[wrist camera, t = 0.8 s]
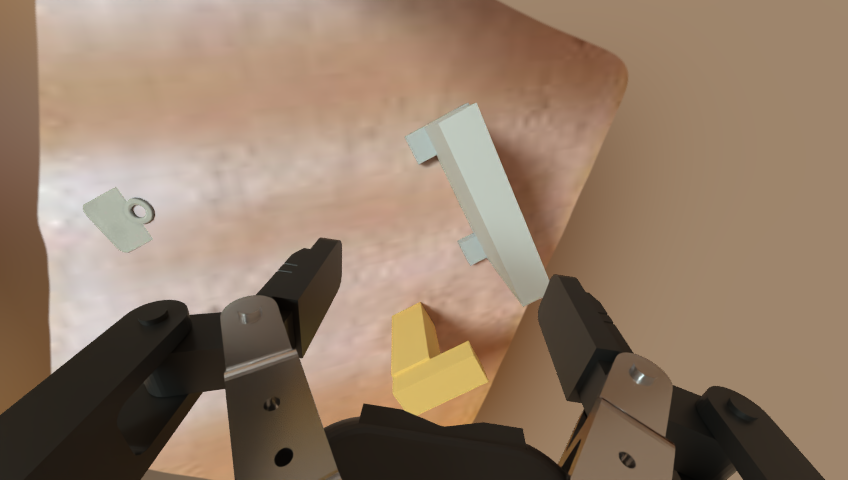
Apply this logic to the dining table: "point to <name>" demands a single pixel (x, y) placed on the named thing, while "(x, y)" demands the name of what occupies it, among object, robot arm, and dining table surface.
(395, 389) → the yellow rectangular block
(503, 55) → the dining table surface
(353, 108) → the dining table surface
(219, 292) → the dining table surface
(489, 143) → the wall board
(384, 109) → the dining table surface
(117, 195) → the mounting bracket
